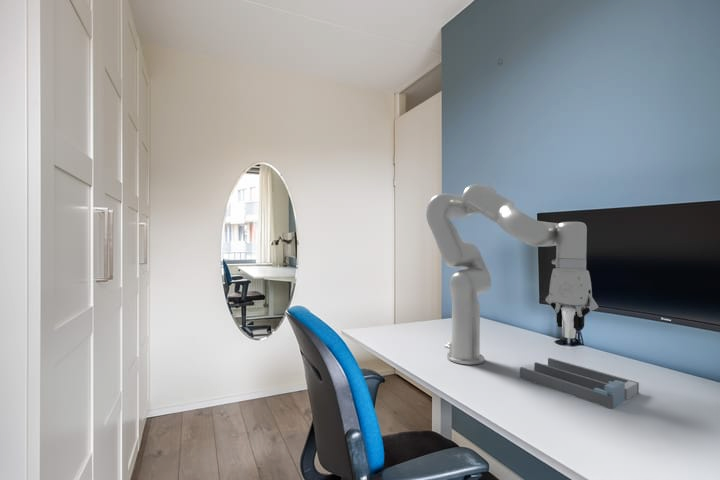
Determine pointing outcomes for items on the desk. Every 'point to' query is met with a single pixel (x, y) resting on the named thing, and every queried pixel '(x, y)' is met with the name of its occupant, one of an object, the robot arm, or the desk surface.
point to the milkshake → (568, 321)
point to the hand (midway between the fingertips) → (570, 327)
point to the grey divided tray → (582, 382)
